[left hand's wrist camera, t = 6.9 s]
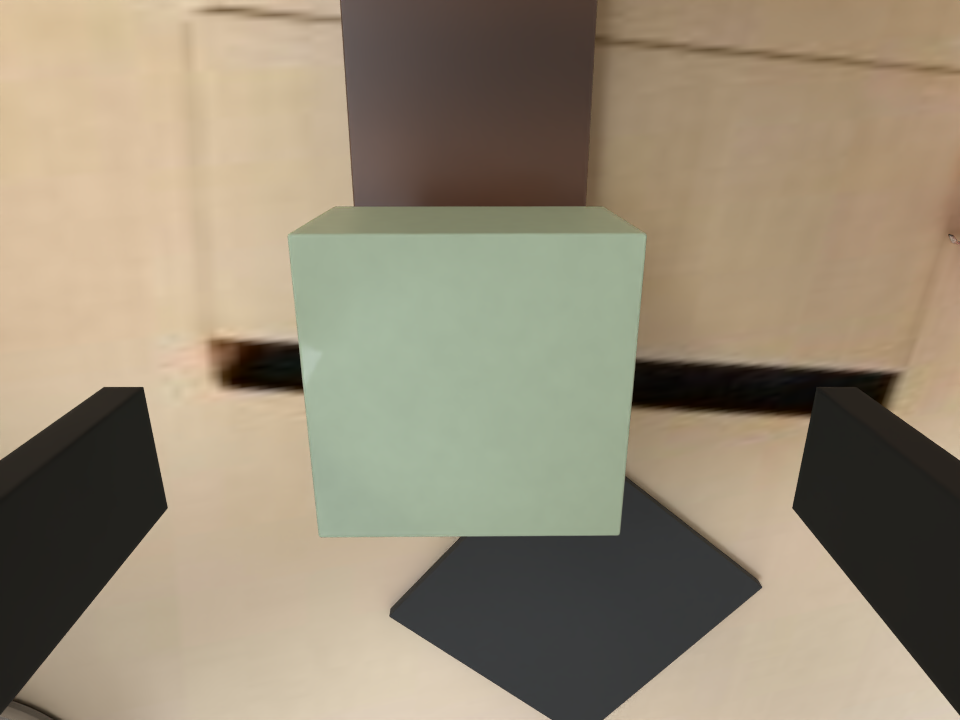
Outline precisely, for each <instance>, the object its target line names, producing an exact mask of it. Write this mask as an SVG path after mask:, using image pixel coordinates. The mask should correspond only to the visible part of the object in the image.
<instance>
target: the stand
mask: <svg viewBox="0 0 960 720" xmlns="http://www.w3.org/2000/svg"><path fill="white" fill-rule="evenodd" d="M340 7H341V22H342V37H343V52H344V67H345V81H346V96H347V111H348V126H349V141H350V156H351V171H352V186H353V201H354V207H532V206H586V191H587V173H588V156H589V138H590V120H591V103H592V85H593V67H594V50H595V32H596V14H597V0H340Z"/></svg>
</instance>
